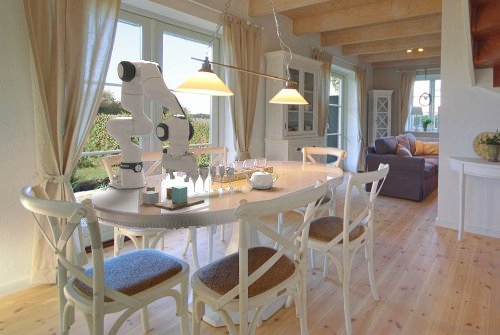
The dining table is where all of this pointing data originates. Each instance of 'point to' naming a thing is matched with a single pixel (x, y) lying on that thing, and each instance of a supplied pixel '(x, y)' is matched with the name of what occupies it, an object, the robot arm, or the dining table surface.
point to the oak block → (169, 192)
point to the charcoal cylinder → (150, 189)
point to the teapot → (261, 179)
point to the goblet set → (212, 176)
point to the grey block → (150, 197)
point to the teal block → (179, 194)
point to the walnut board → (174, 206)
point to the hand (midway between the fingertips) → (179, 180)
